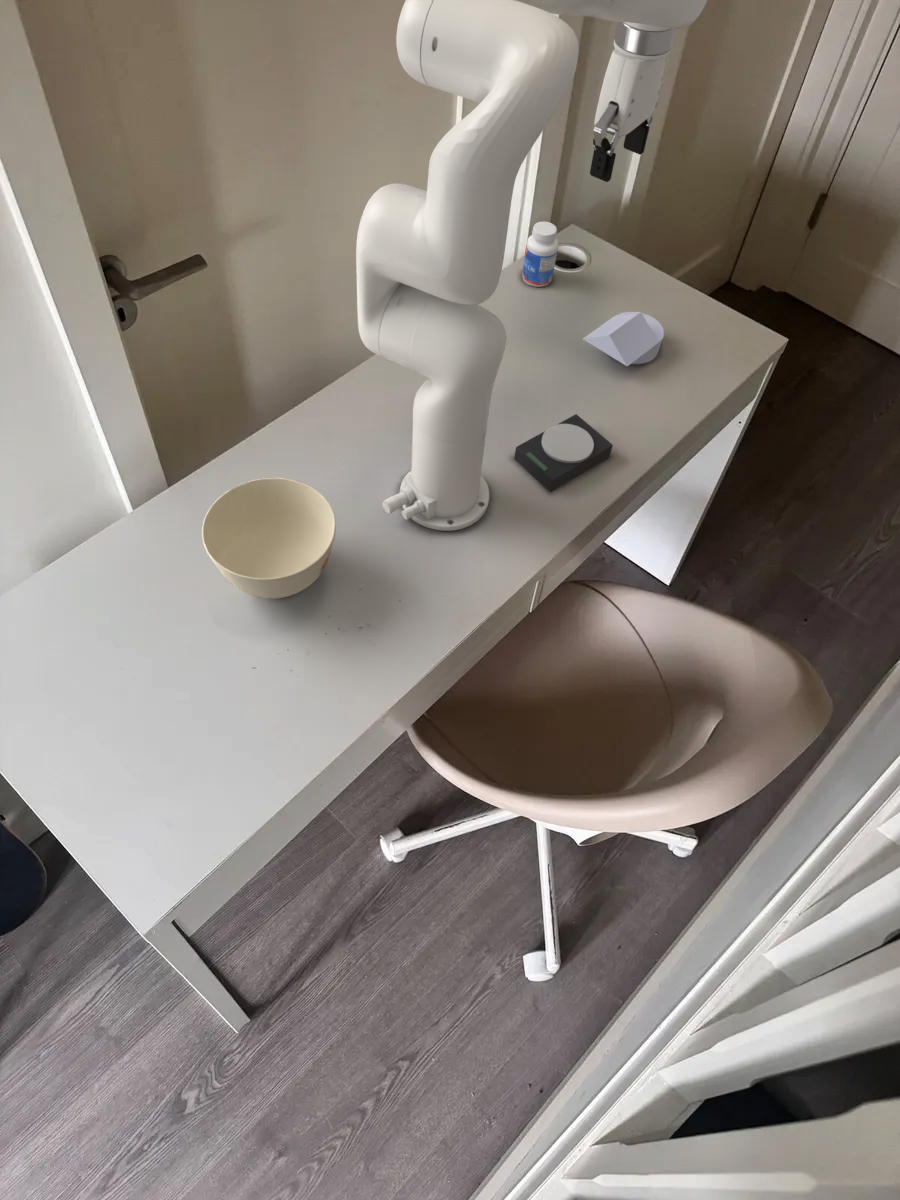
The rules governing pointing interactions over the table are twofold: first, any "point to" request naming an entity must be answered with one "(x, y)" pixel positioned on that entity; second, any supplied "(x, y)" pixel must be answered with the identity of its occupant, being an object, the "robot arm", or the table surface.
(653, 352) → the wedge on round base
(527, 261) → the pill bottle
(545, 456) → the scale
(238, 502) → the bowl
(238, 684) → the table surface
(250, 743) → the table surface
